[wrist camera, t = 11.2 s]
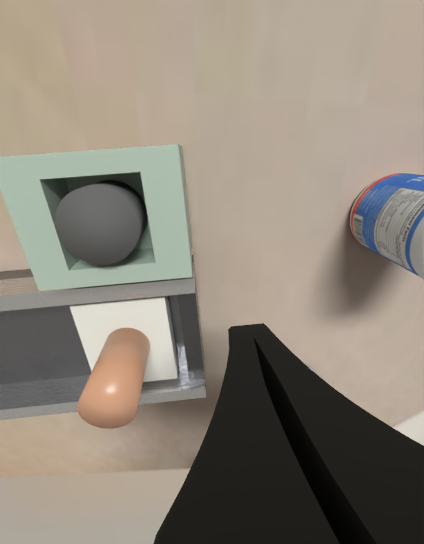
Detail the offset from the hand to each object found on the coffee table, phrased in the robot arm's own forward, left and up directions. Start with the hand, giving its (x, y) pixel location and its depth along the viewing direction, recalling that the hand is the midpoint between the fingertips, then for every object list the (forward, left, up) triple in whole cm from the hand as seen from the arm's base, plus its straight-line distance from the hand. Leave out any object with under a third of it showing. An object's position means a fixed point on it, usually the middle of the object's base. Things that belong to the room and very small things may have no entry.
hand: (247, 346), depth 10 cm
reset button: (+4, +6, -8) cm, 10 cm away
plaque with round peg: (-5, +7, -9) cm, 12 cm away
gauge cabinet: (+4, +6, -10) cm, 13 cm away
